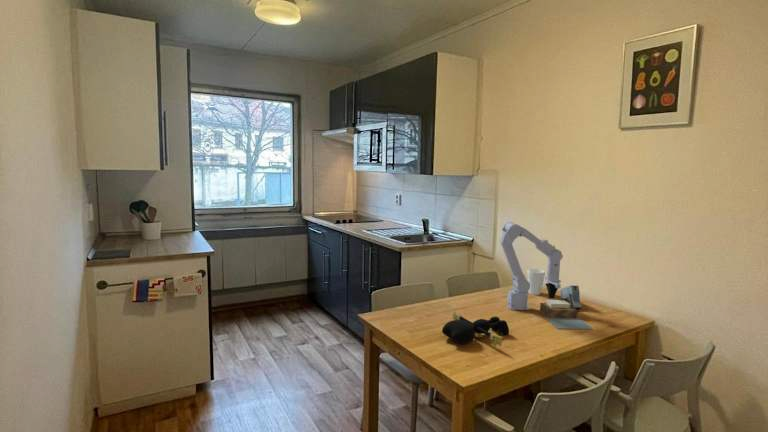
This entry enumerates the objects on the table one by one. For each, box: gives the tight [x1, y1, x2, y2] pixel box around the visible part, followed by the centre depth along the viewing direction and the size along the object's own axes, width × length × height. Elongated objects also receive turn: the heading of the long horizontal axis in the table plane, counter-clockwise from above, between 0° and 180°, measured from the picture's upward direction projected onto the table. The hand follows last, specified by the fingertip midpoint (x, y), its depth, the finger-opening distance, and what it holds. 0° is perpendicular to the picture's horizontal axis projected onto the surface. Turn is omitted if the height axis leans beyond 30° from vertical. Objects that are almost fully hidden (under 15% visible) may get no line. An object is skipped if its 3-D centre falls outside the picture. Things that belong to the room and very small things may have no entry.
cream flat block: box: [545, 299, 571, 308], centre depth 210 cm, size 9×6×2 cm, turn 91°
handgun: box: [560, 284, 583, 310], centre depth 226 cm, size 4×18×12 cm, turn 179°
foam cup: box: [526, 268, 546, 296], centre depth 243 cm, size 10×9×13 cm
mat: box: [545, 317, 594, 330], centre depth 198 cm, size 16×13×1 cm
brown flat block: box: [539, 302, 579, 318], centre depth 210 cm, size 14×10×4 cm
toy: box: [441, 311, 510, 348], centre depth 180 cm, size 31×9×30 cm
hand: (551, 297), depth 218 cm, fingers closed
